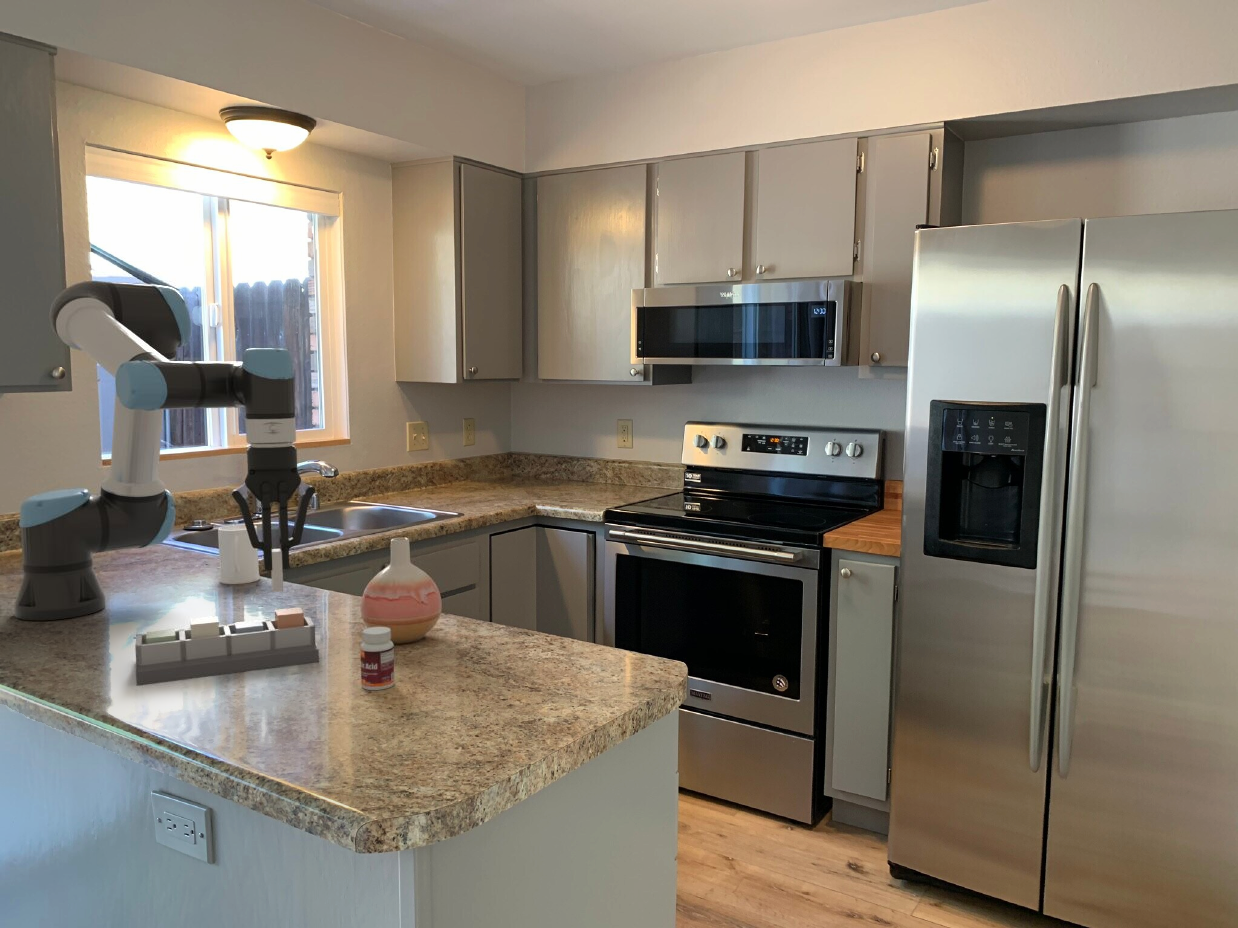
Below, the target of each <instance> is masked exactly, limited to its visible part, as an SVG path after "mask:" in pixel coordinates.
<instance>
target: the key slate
mask: <svg viewBox="0 0 1238 928" xmlns="http://www.w3.org/2000/svg"><path fill="white" fill-rule="evenodd" d="M261 621H262V620H261V619H254V620H246V621H238V622H234V623H233V624H234V626H235V634H239V633H248V632H257V631H263V624H262V622H261Z"/></svg>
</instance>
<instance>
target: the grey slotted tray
mask: <svg viewBox="0 0 1238 928" xmlns="http://www.w3.org/2000/svg"><path fill="white" fill-rule="evenodd" d="M261 622H262V624H263V631H257V632H248V633H239V634H235V626H234V623H228V624H219V636H213V637H204V638H195V639H191V629H190V628H183V629H175V639H176V641H168V642H160V643H151V644H147V641H146V635H147V632H146V633H137V634H136V635H135V645H134V646H135V663H136V664H135V679H136V680H135V682H136V683H135V684H136V686H142V685H149V684H158V683H166V682H173V681H180V680H186V679H187V680H188V679H196V678H197V679H198V678H202V677H211V676H218V675H219V676H220V675H226V674H233V673H243V672H249V671H257V670H265V669H271V668H272V669H273V668H279V667H280V668H281V667H287V666H295V665H303V664H312V663H319V662H320V656H319V655H320V654H319V653H320V650H319V647H318V646H317V644H316V627H315V624H314V622H313V621H312V619H311V618H310V616H309V615H304V626H301V627H292V628H283V629H276V628H275V618H274V619H268V620H267V619H266V620H261Z"/></svg>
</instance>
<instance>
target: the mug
mask: <svg viewBox="0 0 1238 928" xmlns="http://www.w3.org/2000/svg"><path fill="white" fill-rule="evenodd" d="M254 527H255V530H256V533H257V534H258V526H257V525H255V524H254ZM217 534H218V535H217V536H218V555H219V556H218V558H219V579H218V582H219V584H223V585H244V584H249V583H250V584H251V583H254V582H257V581H259V580H260V579H261V575H260V572H259V571H260V569H259V549H257V548H256V549H255V548H253V547H252V545H251V542H250V539H249V536H248V532H247V529H246V526H245V524H234V525H233V524H232V525H226V526H225V525H224V526H220V527H219V528H218V529H217Z"/></svg>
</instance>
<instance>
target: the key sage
mask: <svg viewBox="0 0 1238 928" xmlns="http://www.w3.org/2000/svg"><path fill="white" fill-rule="evenodd" d="M175 630H176V629H175V628H173V629H172V628H171V629H164V630H163V629H162V630H155V631H147V632H146V633H147V635H146V641H147V644H151V643H160V642H168V641H176V639H175Z"/></svg>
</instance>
